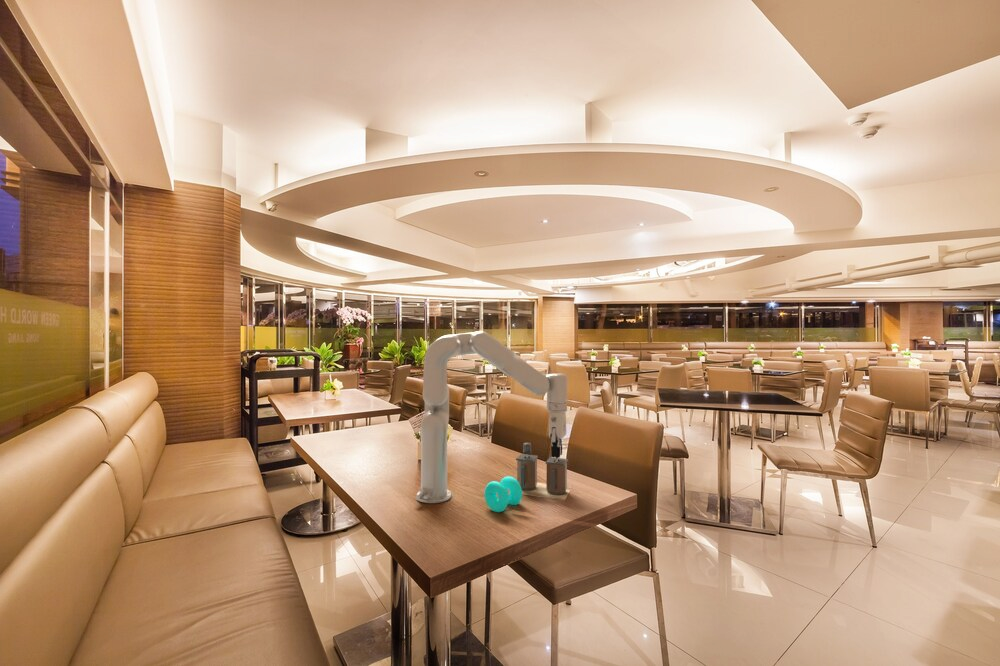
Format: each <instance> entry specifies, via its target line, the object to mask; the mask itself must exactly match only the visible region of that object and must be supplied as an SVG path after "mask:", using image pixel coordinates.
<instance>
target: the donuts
mask: <svg viewBox="0 0 1000 666" xmlns="http://www.w3.org/2000/svg"><path fill="white" fill-rule="evenodd" d="M522 499H523V494H522V489H521V486H520V484H519V482H518V481H517V478H515V477H513V476H504V477H503V478H501V480H500V482H499V481H494V480H493V481H490V482H488V483H487V485H486V486H485V488H484V500H485V502H486V505H487V507H488V508H489V509H490V510H491V511H493V512H495V513H501V512H504V510H506V509H507V506H508V505H512V506H517V505H518V504H520V503H521V501H522Z"/></svg>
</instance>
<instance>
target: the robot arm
mask: <svg viewBox="0 0 1000 666" xmlns="http://www.w3.org/2000/svg"><path fill="white" fill-rule="evenodd" d="M473 354H477V355H478V356H480V358H483V360H485V361H486V362H488V363H489V364H491V365H492V366H493V367H494V368H496V369H498V370H499V372H502V373H503V374H504V375H506V376H508V377H510V378H512V379H513V380H514V381H515V382H516V383H518V384H519V385H521V386H523V387H524V388H525V389H526V390H528V391H529V392H531V393H532V394H534V395H535V396H543V395H545V394H546V411H547V412H549V413H548V437H549V439H551V442H550V443H551V450H550V453H551V456H550V457H554V458H561V456H562V455H563V439H564V437H565V436H566V435H567V416H566V413H567V411H568V376H567V375H566V374H565V373H560V372H558V373H557V372H555V373H543V372H540V371H538V369H536V368H534V367H533V366H532V365H530V364H529V363H527V362H526V361H525V360H523V359H522V358H521V356H519V355H518V354H517V353H515V352H514V351H513V350H511V349H510V348H509V347H507V346H506V344H505V345H504V344H503V343H502V342H501V341H499V340H497V338H495V337H494V336H492V335H491V334H489V333H488V332H486V331H484V330H478V331H474V332H465V333H456V334H454V333H453V334H446V335H445V334H444V335H443V336H440V337H439V338H437V339H435V340H434V341H432V343H431V344H430V345H429V346H428V348H427V349H426V352H425V355H424V361H423V376H422V382H423V383H422V384H423V385H422V395H421V396H422V400H423V401H424V415H423V417H422V419H421V421H420V422H421V423H420V427H419V429H420V449H421V450H420V490H419V491H418V492H417V493H416V495H415V497H414V498H415V500H416V501H418V502H420V503H424V504H438V503H444V502H446V501H448V500H449V499H451V497H452V491H450V490H449V489H448V426H449V421H450V388H449V385H448V382H447V380H448V377H447V375H448V362H449V361H450V359H452V358H454V357H456V356H458V357H460V356H465V355H473ZM559 444H560V445H561V455H560V447H559Z"/></svg>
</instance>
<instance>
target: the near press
mask: <svg viewBox="0 0 1000 666" xmlns="http://www.w3.org/2000/svg"><path fill="white" fill-rule="evenodd" d="M545 464H546V489H547V492H548V493H549V494H552V495H563V494H565V493H566V489H567V486H568V485H567V483H568V482H567V481H568V480H567V478H568V477H567V475H568V474H567V473H568V469H567V467H568V465H567V464H568V458H561V457H559V458H558V462H556V457H551V456H550V457H548V459H547V460H546V461H545Z"/></svg>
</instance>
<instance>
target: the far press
mask: <svg viewBox="0 0 1000 666" xmlns="http://www.w3.org/2000/svg"><path fill="white" fill-rule="evenodd" d="M522 447H523V448H522V450H523V451H522V452H523V453H520V454H519V455H518V456H517V457H516V458H515V460H516V463H517V465H516V466H517V467H516V480H517V481H518V482H519V484H520V486H521V489H522V490H523V491H532V490H535V489H536V485H537V482H538V458H539V455H535V454H532V443H531V442H523V445H522Z"/></svg>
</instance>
